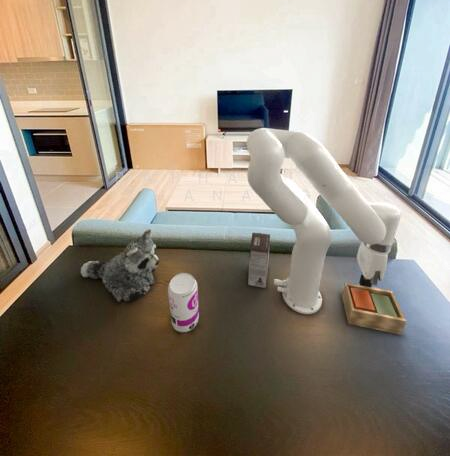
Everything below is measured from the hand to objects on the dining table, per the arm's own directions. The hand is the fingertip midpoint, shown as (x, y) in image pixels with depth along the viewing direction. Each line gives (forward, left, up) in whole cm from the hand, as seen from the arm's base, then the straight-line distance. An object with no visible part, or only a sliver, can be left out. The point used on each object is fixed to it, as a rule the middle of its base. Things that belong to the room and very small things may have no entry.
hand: (364, 286), depth 81 cm
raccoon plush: (-82, -15, -4) cm, 84 cm away
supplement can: (-55, -22, -4) cm, 59 cm away
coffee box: (-35, -1, -4) cm, 35 cm away
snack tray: (0, -7, -4) cm, 8 cm away
